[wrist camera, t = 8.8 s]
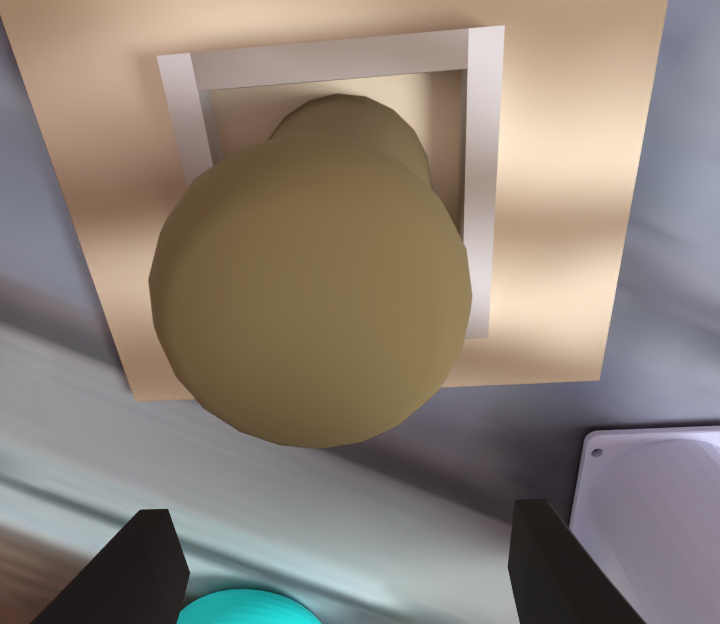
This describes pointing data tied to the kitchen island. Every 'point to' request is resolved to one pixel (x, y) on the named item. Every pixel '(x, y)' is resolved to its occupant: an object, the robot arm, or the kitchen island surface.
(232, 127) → the socket board
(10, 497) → the kitchen island surface
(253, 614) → the donuts
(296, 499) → the kitchen island surface
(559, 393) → the kitchen island surface
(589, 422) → the kitchen island surface
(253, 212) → the cork
